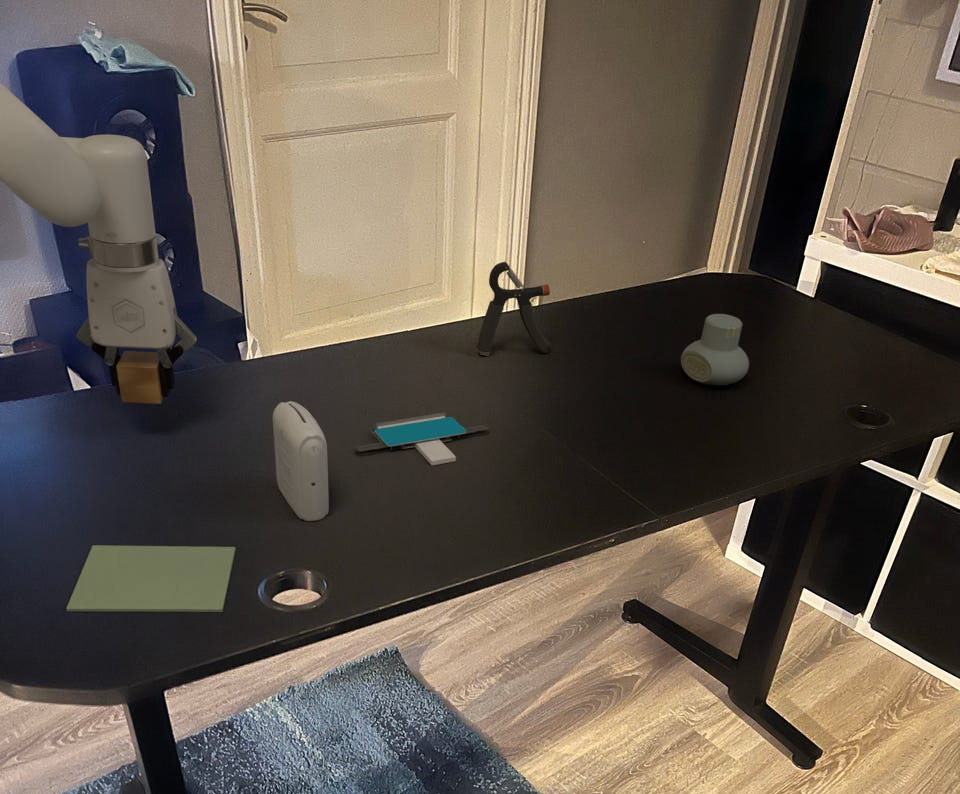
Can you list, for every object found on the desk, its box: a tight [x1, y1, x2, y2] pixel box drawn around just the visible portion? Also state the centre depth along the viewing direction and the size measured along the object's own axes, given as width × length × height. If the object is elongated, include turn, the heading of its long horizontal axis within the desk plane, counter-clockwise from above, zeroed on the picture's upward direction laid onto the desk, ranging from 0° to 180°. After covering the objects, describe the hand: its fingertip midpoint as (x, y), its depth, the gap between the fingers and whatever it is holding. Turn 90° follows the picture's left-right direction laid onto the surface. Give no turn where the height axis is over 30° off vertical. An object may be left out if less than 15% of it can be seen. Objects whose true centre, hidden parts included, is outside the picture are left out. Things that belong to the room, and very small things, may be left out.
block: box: [116, 350, 165, 405], centre depth 127 cm, size 5×5×5 cm
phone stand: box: [354, 411, 490, 466], centre depth 135 cm, size 20×12×2 cm, turn 117°
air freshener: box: [680, 313, 750, 386], centre depth 157 cm, size 11×8×10 cm
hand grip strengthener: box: [476, 261, 552, 353], centre depth 158 cm, size 2×13×15 cm, turn 103°
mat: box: [65, 544, 237, 613], centre depth 107 cm, size 16×12×1 cm
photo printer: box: [272, 400, 330, 522], centre depth 118 cm, size 10×4×12 cm, turn 28°
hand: (144, 390), depth 128 cm, fingers closed on block, 5 cm apart
